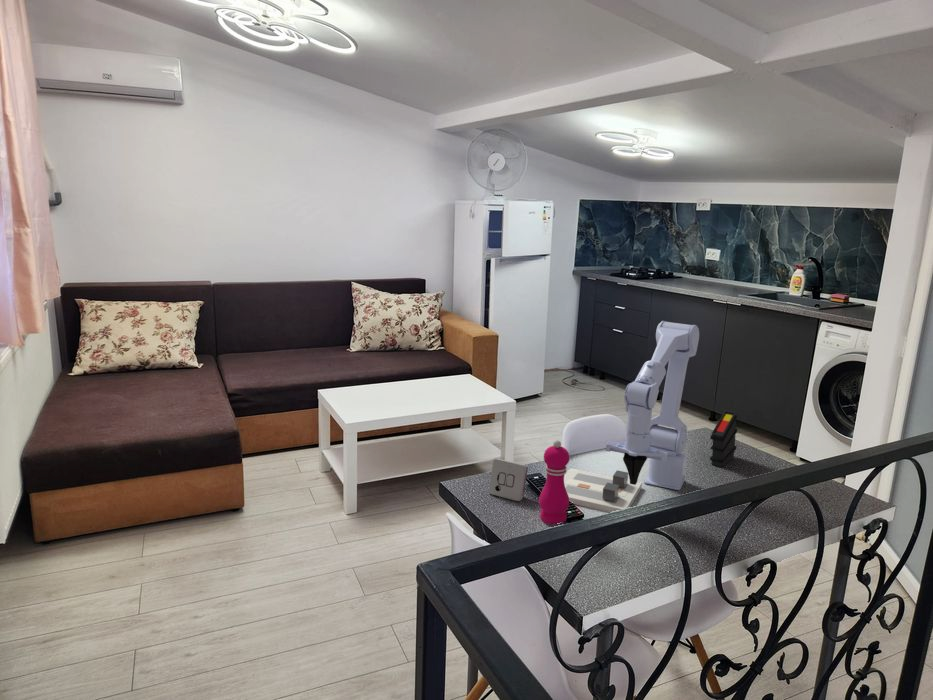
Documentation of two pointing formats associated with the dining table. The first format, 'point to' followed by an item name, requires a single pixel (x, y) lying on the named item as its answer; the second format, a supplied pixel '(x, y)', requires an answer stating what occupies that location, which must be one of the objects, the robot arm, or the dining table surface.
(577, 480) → the switch panel
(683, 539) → the dining table surface
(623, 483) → the dark grey block
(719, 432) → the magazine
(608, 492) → the tab
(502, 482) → the electrical switch
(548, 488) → the pepper mill
